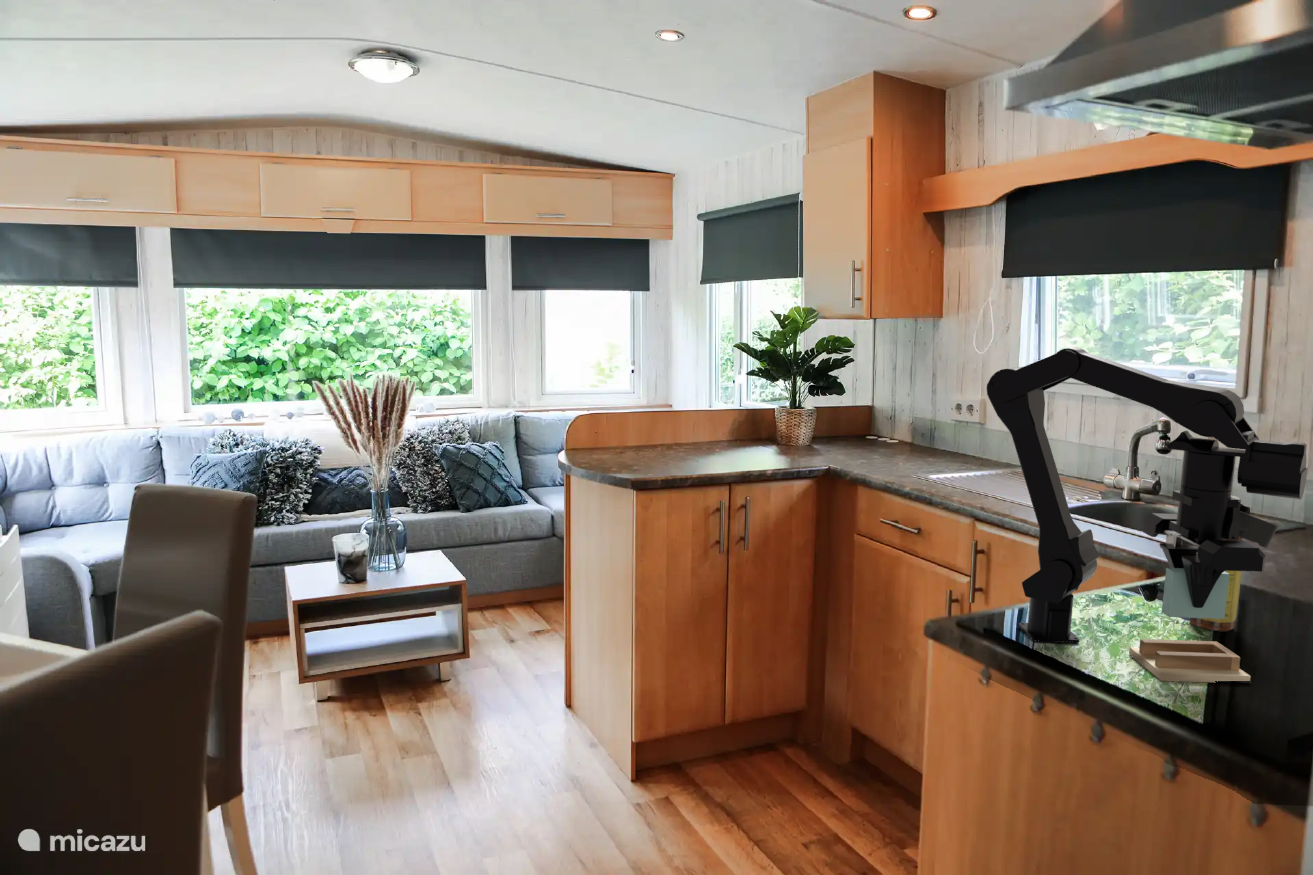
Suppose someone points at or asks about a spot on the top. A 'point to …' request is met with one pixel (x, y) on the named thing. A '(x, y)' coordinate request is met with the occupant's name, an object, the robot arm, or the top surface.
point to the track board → (1189, 660)
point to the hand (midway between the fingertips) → (1192, 604)
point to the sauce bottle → (1231, 603)
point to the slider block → (1180, 601)
